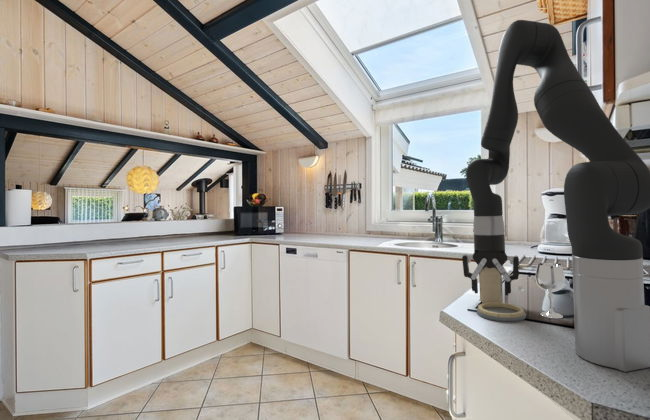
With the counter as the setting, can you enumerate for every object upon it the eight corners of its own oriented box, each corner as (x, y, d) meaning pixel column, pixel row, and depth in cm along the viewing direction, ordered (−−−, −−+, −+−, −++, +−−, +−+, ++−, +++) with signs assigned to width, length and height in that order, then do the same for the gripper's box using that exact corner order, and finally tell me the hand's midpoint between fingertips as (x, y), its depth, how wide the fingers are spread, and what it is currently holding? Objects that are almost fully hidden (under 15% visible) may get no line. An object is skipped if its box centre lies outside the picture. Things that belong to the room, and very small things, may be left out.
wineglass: (540, 318, 78) (538, 266, 78) (534, 311, 84) (532, 262, 84) (570, 320, 76) (568, 266, 76) (561, 312, 82) (559, 262, 82)
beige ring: (536, 318, 78) (536, 311, 78) (497, 324, 76) (496, 316, 76) (503, 306, 88) (503, 300, 88) (467, 310, 86) (467, 304, 86)
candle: (481, 304, 91) (480, 267, 91) (478, 299, 96) (477, 263, 96) (504, 305, 89) (503, 267, 89) (500, 300, 94) (499, 263, 94)
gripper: (518, 231, 92) (521, 292, 92) (461, 231, 99) (464, 288, 99) (519, 233, 86) (522, 299, 86) (458, 233, 92) (461, 295, 92)
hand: (491, 293), depth 92 cm, fingers open, 7 cm apart
